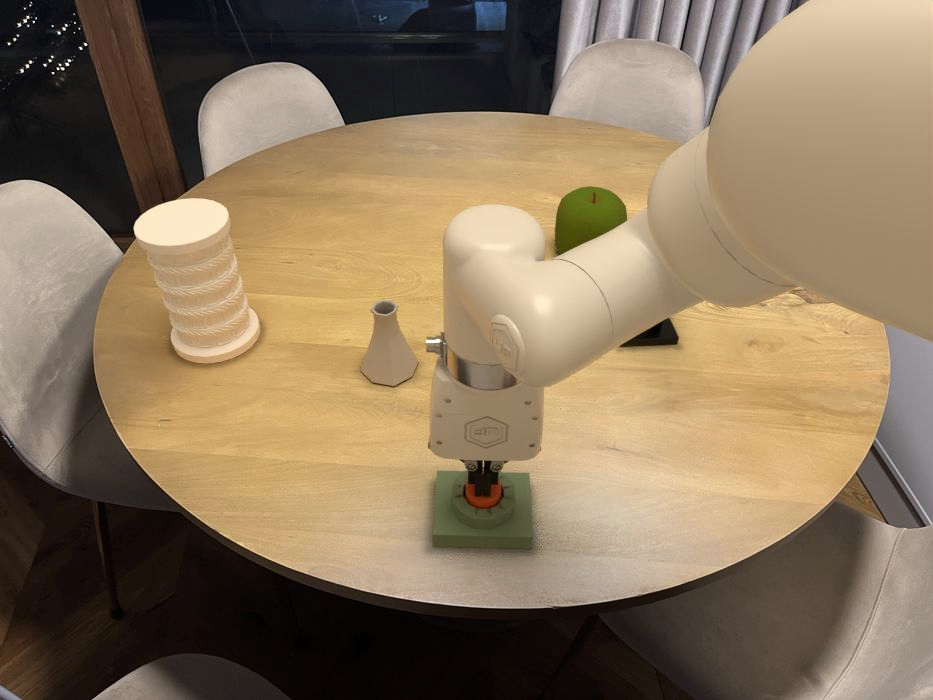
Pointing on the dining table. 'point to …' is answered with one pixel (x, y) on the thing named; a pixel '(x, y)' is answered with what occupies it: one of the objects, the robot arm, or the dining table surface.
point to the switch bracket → (655, 335)
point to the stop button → (483, 496)
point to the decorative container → (198, 279)
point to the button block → (482, 514)
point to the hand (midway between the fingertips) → (482, 484)
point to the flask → (388, 348)
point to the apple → (587, 216)
